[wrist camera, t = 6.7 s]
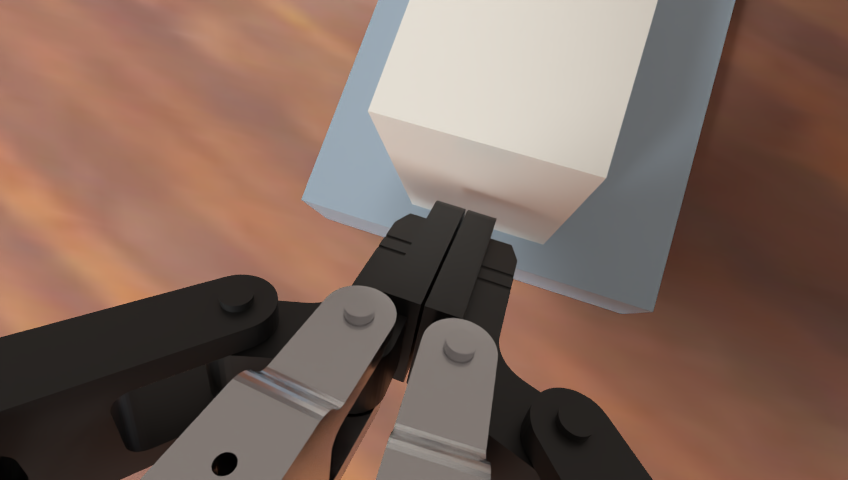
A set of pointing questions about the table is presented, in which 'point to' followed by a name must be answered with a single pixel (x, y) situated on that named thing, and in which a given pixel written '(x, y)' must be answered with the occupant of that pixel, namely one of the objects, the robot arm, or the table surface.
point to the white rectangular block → (509, 103)
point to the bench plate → (603, 210)
